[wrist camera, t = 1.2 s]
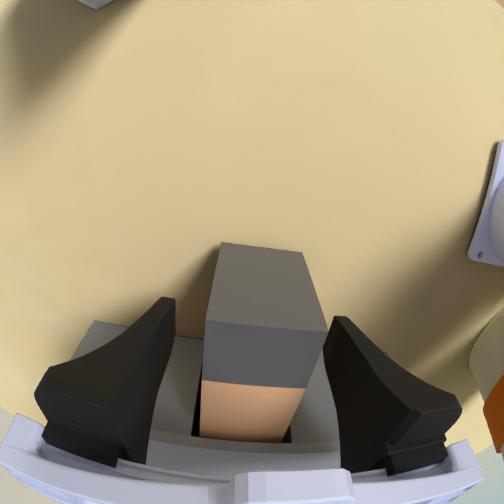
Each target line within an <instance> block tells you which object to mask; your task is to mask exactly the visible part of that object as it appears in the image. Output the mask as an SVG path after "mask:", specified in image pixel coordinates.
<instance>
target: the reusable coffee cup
mask: <svg viewBox="0 0 504 504" xmlns="http://www.w3.org/2000/svg"><path fill="white" fill-rule="evenodd" d="M469 367H470V369H471V372H472V374H473V376H474V378H475V381H476V383H477V385H478V388H479V390H480V393H481V395H482V398H483V400H484V403H485V404H484V407H483V413H484V416H485V419H486V421H487V424H488V427H489V430H490V433H491V436H492V440H493V443H494V446H495V449H496V452H497V453H502V456H503V460H504V307H503V308H502V309H501V310H500V311H499V312H498V313H497V314H496V315H495V316H494V317H493V318H492V319H491V320H490V322H489V323H488V324H487V325H486V327H485V328H484V329H483V331H482V332H481V334H480V335H479V337H478V338H477V340H476V342H475V344H474V346H473V348H472V350H471V353H470V356H469Z"/></svg>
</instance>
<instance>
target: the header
mask: <svg viewBox="0 0 504 504" xmlns="http://www.w3.org/2000/svg"><path fill="white" fill-rule="evenodd" d="M126 329H128V327H123V326H118V325H114V324H109V323H104V322H100V321H95V320H94V322H93V324H92V325H91V327H90V328H89V330H88V332H87V333H86V335H85V337H84V338H83V340H82V342H81V343H80V345H79V347H78V348H77V350H76V352H75V353H74V355H73V357H72V359H71V360H74V359H76V358H79V357H81V356H83V355H86V354H88V353H90V352H92V351H94V350H96V349H98V348H99V347H101V346H103V345H105V344H107V343H108V342H110V341H111V340H113V339H114V338H116V337H117V336H119V335H120V334H121V333H123V332H124V331H125V330H126ZM203 350H204V340H201V339H194V338H187V337H180V336H175V339H174V343H173V348H172V353H171V356H170V359H169V361H168V364H167V367H166V370H165V373H164V376H163V379H162V382H161V385H160V388H159V391H158V395H157V398H156V403H155V408H154V413H153V418H152V424H151V430H150V436H149V443H148V450H147V458H146V465H147V466H152V467H157V468H162V469H168V470H174V471H180V472H186V473H193V474H201V475H210V476H221V477H234V476H235V475H237V474H239V473H243V472H247V471H256V470H303V469H321V468H341V460H340V440H339V428H338V420H337V413H336V408H335V403H334V399H333V396H332V392H331V388H330V385H329V381H328V377H327V373H326V370H325V365H324V358H323V351H321V353H320V355H319V358H318V360H317V363H316V365H315V368H314V370H313V373H312V375H311V377H310V380H309V382H308V385H307V387H306V389H305V391H304V394H303V396H302V398H301V401H300V403H299V405H298V407H297V409H296V412H295V414H294V416H293V418H292V420H291V422H290V424H289V426H288V429H287V431H286V433H285V435H284V437H283V439H282V441H281V443H257V442H240V441H228V440H218V439H209V438H201V437H200V412H201V388H202V368H203ZM383 353H384V354H385V355H387V354H386V352H383ZM71 360H70V361H71Z"/></svg>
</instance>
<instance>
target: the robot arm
mask: <svg viewBox="0 0 504 504" xmlns="http://www.w3.org/2000/svg"><path fill="white" fill-rule="evenodd" d="M479 252H480V253H479ZM467 254H468V258H469V259H471V260H472V261H476V262H482V263H487V264H492V265H497V266H503V267H504V140H500V141H499V143H498V146H497V152H496V157H495V161H494V166H493V170H492V175H491V179H490V183H489V187H488V191H487V194H486V198H485V201H484V205H483V208H482V212H481V215H480V218H479V221H478V224H477V227H476V230H475V233H474V236H473V239H472V242H471V244H470V247H469V250H468V253H467ZM478 254H479V255H478ZM175 334H176V330H175V299H174V298H168V297H161V298H160V299H159V300H158V301H157V302H156V303H155V304H154V305H153V306H152V307H151V308H150V309H149V310H148V311H147V312H146V313H145V314H144V315H143V316H141V317H140V318H139V319H138V320H137V321H136V322H135V323H134V324H133V325H131V326H130V327H129V328H128V329H126V330H125V331H124V332H123V333H121V334H120V335H119V336H117V337H116V338H114V339H113V340H111V341H110V342H108V343H107V344H105V345H103V346H101V347H99V348H98V349H96V350H94V351H92V352H90V353H88V354H86V355H83V356H81V357H79V358H76V359H74V360H71V361H68V362H65V363H62V364H58V365H55V366H51V367H49V369H48V370H47V371H46V373H45V374H44V376H43V378H42V379H41V381H40V383H39V385H38V387H37V388H36V390H35V392H34V397H35V400H36V402H37V404H38V406H39V407H40V409H41V411H42V412H43V414H44V416H45V417H46V419H47V420H48V422H47V424H46V427H44V426H43V425H41V424H40V423H38V422H37V421H34V420H32V419H30V418H28V417H26V416H23V415H21V414H19V413H16V415H15V417H14V419H13V421H12V423H11V425H10V427H9V429H8V431H7V433H6V435H5V437H4V439H3V441H2V443H1V446H0V465H1V466H3V467H4V468H5V469H6V470H7V471H8V472H9V473H10V474H11V475H13V476H14V477H15V478H16V479H17V480H18V481H20V482H21V483H22V484H23V485H25V486H27V487H29V488H31V489H33V490H35V491H37V492H39V493H41V494H43V495H45V496H47V497H49V498H51V499H53V500H55V501H57V502H59V503H61V504H447V503H449V502H452V501H453V500H455V499H456V498H458V497H459V496H461V495H462V494H464V493H465V492H467V491H468V490H470V489H471V488H473V487H474V486H475V485H477V484H478V483H479V482H481V481H482V480H483V479H484V476H483V473H482V471H481V469H480V466H479V464H478V462H477V459H476V457H475V455H474V452H473V450H472V448H471V446H470V444H469V441H468V440H463V441H460V442H457V443H454V444H451V445H449V446H448V447H446V448H445V445H444V442H445V441H446V436H445V433H446V432H447V431H448V430H449V429H450V428H451V427H452V425H453V424H454V423H455V422H456V421H457V420H458V418H459V417H460V415H461V413H462V408H461V406H460V404H459V402H458V400H457V398H456V396H455V395H454V394H451V393H448V392H446V391H443V390H441V389H438V388H436V387H434V386H432V385H430V384H428V383H426V382H424V381H422V380H420V379H419V378H417V377H415V376H414V375H412V374H411V373H409V372H407V371H406V370H404V369H403V368H402V367H400V366H399V365H398V364H396V363H395V362H394V361H392V360H391V359H390V358H389V357H388V356H387V355H385V354H384V353H383V352H382V351H381V350H380V349H379V348H378V347H377V346H376V345H375V344H374V343H373V342H372V341H371V340H370V339H368V337H367V336H366V335H365V334H364V333H363V332H362V331H361V330H360V329H359V328H358V327H357V326H356V325H355V324H354V323H353V322H352V321H351V320H350V319H349V318H348V317H346V316H334V319H333V321H332V324H331V327H330V329H329V332H328V335H327V337H326V340H325V343H324V345H323V348H322V349H323V358H324V365H325V370H326V373H327V377H328V381H329V385H330V388H331V392H332V396H333V399H334V403H335V408H336V413H337V420H338V428H339V440H340V460H341V468H321V469H303V470H256V471H247V472H243V473H239V474H237V475H235V476H234V477H221V476H210V475H201V474H193V473H186V472H180V471H174V470H168V469H162V468H157V467H152V466H147V465H146V458H147V450H148V443H149V436H150V430H151V424H152V418H153V413H154V408H155V403H156V398H157V395H158V391H159V388H160V385H161V382H162V379H163V376H164V373H165V370H166V367H167V364H168V361H169V359H170V356H171V353H172V348H173V343H174V339H175Z"/></svg>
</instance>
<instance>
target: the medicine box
mask: <svg viewBox="0 0 504 504" xmlns="http://www.w3.org/2000/svg"><path fill="white" fill-rule="evenodd" d="M78 1H80V2H81V3H83V4H85V5H87V6H89V7H90V8H92V9H95V10H96V9H98V8H101V7H103V6H104V5H106V4H108V3H110V2H111V1H113V0H78Z"/></svg>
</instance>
